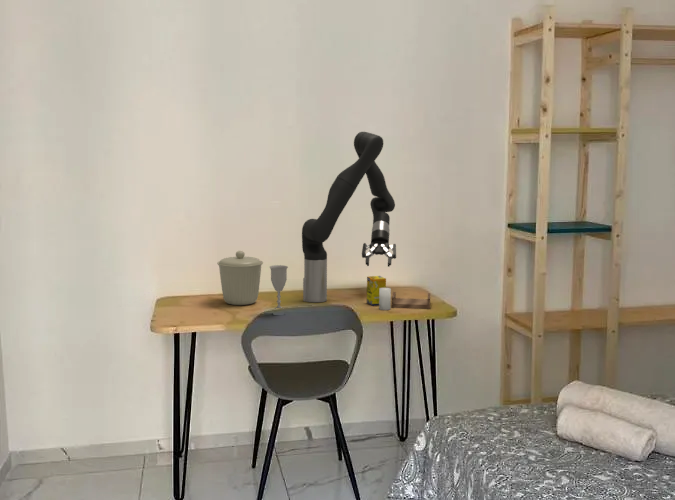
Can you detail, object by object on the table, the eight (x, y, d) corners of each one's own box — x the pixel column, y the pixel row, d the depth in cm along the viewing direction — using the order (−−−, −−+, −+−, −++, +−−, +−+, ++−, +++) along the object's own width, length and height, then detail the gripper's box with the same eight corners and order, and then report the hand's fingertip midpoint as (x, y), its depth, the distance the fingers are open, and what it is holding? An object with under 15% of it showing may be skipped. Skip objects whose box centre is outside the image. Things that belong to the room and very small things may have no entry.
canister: (260, 297, 315) (260, 247, 312) (265, 306, 298) (265, 253, 295) (216, 298, 312) (215, 248, 309) (219, 308, 294) (218, 254, 291)
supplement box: (366, 303, 306) (366, 276, 304) (379, 302, 308) (380, 275, 306) (372, 306, 300) (372, 279, 299) (385, 305, 303) (386, 278, 301)
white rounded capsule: (378, 309, 294) (379, 289, 293) (379, 307, 298) (379, 287, 297) (390, 310, 294) (390, 289, 292) (390, 307, 298) (391, 287, 297)
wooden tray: (391, 307, 298) (391, 297, 298) (392, 301, 309) (393, 292, 308) (430, 308, 296) (430, 298, 296) (430, 302, 307) (430, 293, 307)
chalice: (290, 315, 284) (290, 267, 281) (273, 316, 281) (272, 268, 279) (284, 311, 290) (284, 264, 288) (267, 312, 288) (267, 265, 285)
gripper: (363, 228, 320) (360, 259, 310) (397, 229, 318) (395, 260, 308) (364, 239, 326) (361, 270, 316) (397, 239, 324) (395, 271, 314)
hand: (378, 265), depth 312 cm, fingers open, 8 cm apart
